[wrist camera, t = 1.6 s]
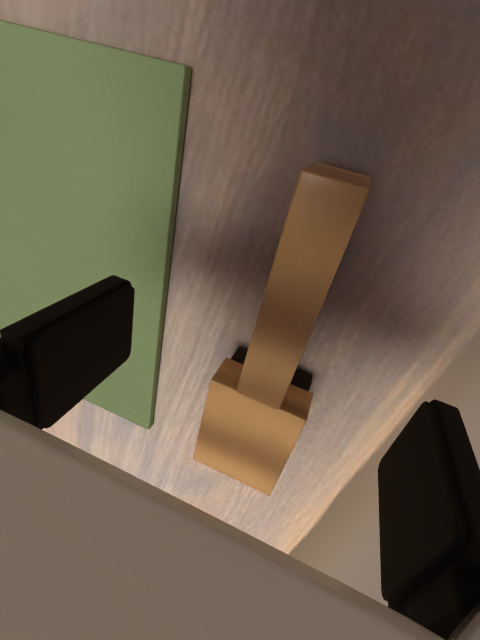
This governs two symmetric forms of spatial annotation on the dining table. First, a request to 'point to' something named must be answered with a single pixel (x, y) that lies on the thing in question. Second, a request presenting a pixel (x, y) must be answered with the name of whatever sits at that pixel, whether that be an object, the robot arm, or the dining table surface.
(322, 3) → the dining table surface
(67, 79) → the mat
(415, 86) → the dining table surface
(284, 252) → the wooden brush
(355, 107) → the dining table surface
